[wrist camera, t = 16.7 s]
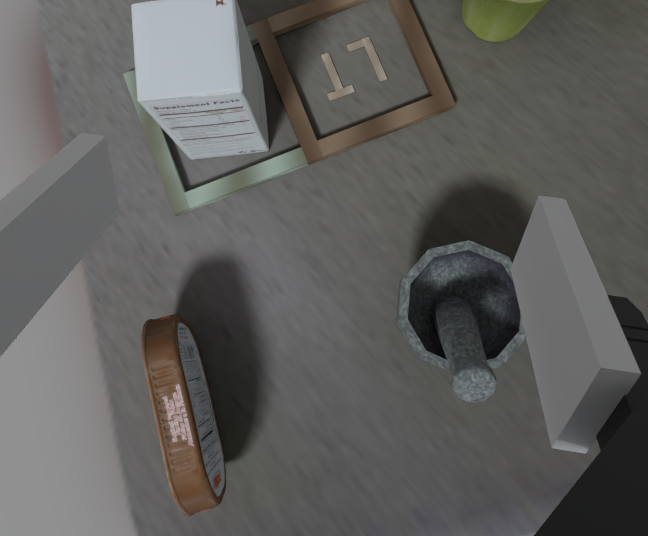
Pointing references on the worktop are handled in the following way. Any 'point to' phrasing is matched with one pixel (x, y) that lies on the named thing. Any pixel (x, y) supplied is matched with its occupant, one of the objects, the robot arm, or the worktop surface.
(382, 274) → the worktop surface
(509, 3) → the plant pot
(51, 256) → the robot arm
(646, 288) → the worktop surface
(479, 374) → the mortar and pestle
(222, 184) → the metal double frame
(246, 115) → the supplement box
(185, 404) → the tin
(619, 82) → the worktop surface
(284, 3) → the worktop surface
